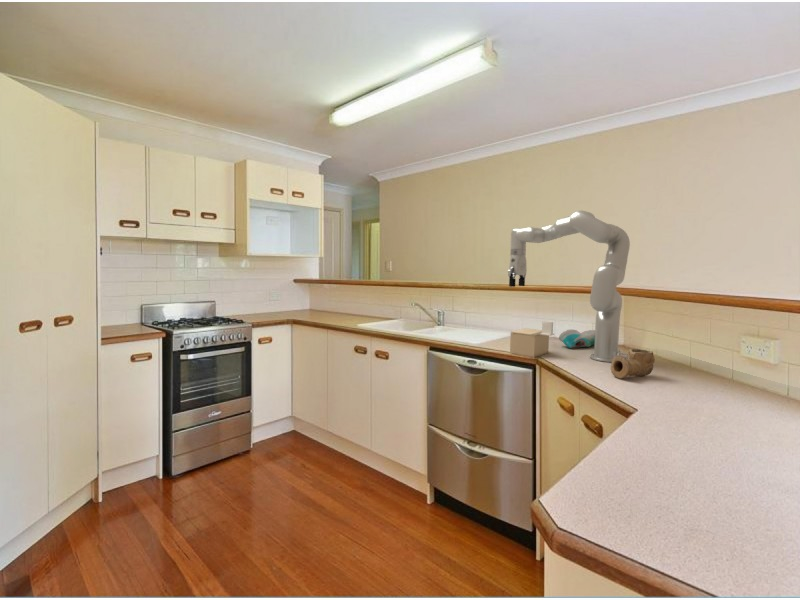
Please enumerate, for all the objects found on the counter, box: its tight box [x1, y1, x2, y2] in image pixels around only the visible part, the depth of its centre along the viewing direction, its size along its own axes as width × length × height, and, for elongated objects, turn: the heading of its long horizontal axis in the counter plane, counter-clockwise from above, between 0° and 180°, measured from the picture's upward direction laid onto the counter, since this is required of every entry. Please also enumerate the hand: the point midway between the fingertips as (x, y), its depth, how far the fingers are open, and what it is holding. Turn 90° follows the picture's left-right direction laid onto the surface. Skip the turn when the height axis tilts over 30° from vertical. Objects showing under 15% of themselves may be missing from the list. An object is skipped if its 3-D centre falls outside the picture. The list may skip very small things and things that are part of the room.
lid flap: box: [510, 320, 555, 337], centre depth 192 cm, size 17×15×6 cm
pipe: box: [610, 348, 655, 379], centre depth 155 cm, size 9×16×10 cm, turn 110°
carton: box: [509, 332, 550, 358], centre depth 195 cm, size 12×15×10 cm
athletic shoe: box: [558, 329, 595, 349], centre depth 210 cm, size 26×9×12 cm
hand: (516, 286), depth 211 cm, fingers open, 9 cm apart
